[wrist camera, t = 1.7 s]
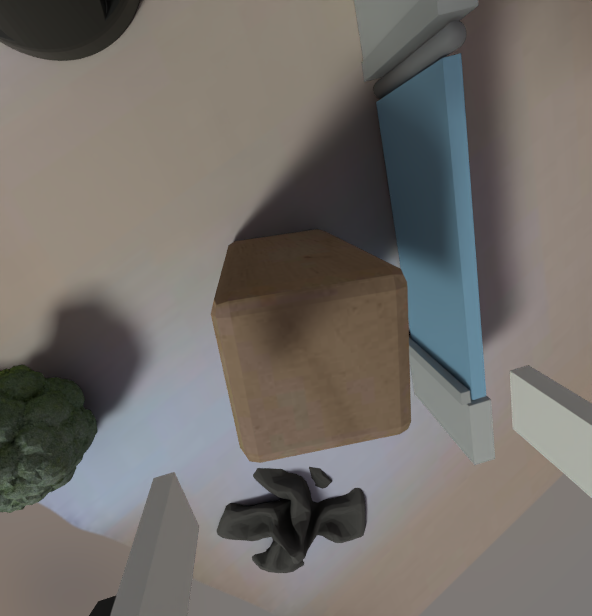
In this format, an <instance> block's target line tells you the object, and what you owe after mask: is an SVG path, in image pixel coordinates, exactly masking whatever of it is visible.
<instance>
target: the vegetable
mask: <svg viewBox="0 0 592 616" xmlns="http://www.w3.org/2000/svg"><path fill="white" fill-rule="evenodd" d="M84 400H85V398H84V395H83V392H82V391H81V389H80V388H79V386H78V385H77V384H76V383H75V382H74V381H70V380H68V379H60V378H57V377H55V378H48V379H46V378H45V377H44V376H43V374H42V373H40V372H35V371H34V370H33V371H32V370H31V369H30V368H28V367H27V366H25V365H19V366H13V367H12V368H11V369H5V370H2V371H0V512H9V513H11V512H13V511H15V510H21V509H23V508H24V507H25V506H26V505H33V504H34V503H37V502H39V501H40V500H42V499H43V498H44V497H45V496H46V495H47V494H48V493H49V492H52V491H54V490H56V489H58V488H60V487H62V486H63V485H65V484H66V483H68V482H69V481H70V480H71V478H72V477H73V474H74V472H75V470H76V466H77V465H78V464H79V463H80V462H81V460H82V458H83V455H84V453H85V452H86V451H87V450H88V448H89V447H90V445H91V444H92V442H93V440H94V437H95V435H96V433H97V424H96V419H95V417H94V415H92V412H91V411H90V410H86V409H85V408H84V407H83V404H84Z"/></svg>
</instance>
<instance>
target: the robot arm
mask: <svg viewBox="0 0 592 616" xmlns="http://www.w3.org/2000/svg"><path fill="white" fill-rule="evenodd" d="M139 1H140V0H0V42H2V43H3V44H5V45H7V46H9V47H11V48H13V49H15V50H17V51H19V52H22V53H24V54H27V55H30V56H33V57H37V58H42V59H47V60H58V61H67V60H76V59H81V58H85V57H88V56H91V55H93V54H96V53H98V52H100V51H102V50H103V49H105V48H106V47H108V46H109V45H111V44H112V43H113V42H114V41H115V40H116V39H117V38H118V37H119V36H120V35H121V34H122V33H123V32H124V30H125V29H126V28H127V26H128V25H129V23H130V22H131V20H132V18H133V16H134V14H135V12H136V9H137V7H138V4H139ZM510 383H511V403H512V423H513V429H514V430H515V431H516V432H517V433H518V434H520V435H521V436H522V437H523V438H524V439H525V440H526V441H527V442H529V443H530V444H531V445H532V446H533V447H534V448H535V449H537V450H538V451H539V452H540V453H541V454H542V455H543V456H545V457H546V458H547V459H548V460H549V461H550V462H551V463H553V464H554V465H555V466H556V467H557V468H558V469H559V470H561V471H562V472H563V473H564V474H565V475H566V476H567V477H569V478H570V479H571V480H572V481H573V482H574V483H575V484H577V485H578V486H579V487H580V488H581V489H582V490H583V491H585V492H586V493H587V494H588V495H589V496H590V497H591V498H592V403H590V402H588V401H587V400H585V399H583V398H582V397H580V396H578V395H577V394H575V393H573V392H572V391H570V390H569V389H567V388H565V387H564V386H562V385H560V384H559V383H557V382H555V381H554V380H552V379H550V378H549V377H547V376H545V375H544V374H542V373H540V372H539V371H537V370H535V369H534V368H532V367H530V366H529V365H528V366H524V367H521V368H518V369H514V370H511V371H510ZM198 532H199V525H198V522H197V520H196V518H195V516H194V514H193V512H192V509H191V507H190V505H189V503H188V501H187V499H186V496H185V494H184V492H183V490H182V488H181V485H180V483H179V481H178V479H177V477H176V475H175V472H173V473H170V474H166V475H163V476H160V477H156V478H154V479H153V482H152V485H151V488H150V491H149V495H148V498H147V501H146V504H145V507H144V510H143V514H142V517H141V520H140V523H139V526H138V529H137V532H136V536H135V539H134V542H133V545H132V548H131V552H130V555H129V558H128V561H127V564H126V567H125V570H124V574H123V577H122V580H121V583H120V586H119V589H118V593H117V596H113V597H110V598H107V599H104V600H101V601H98V603H97V604H96V606H95V607H94V609H93V610H92V612H91V613H90V615H89V616H187V614H188V606H189V599H190V591H191V584H192V576H193V569H194V562H195V554H196V547H197V539H198Z"/></svg>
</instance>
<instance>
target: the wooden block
mask: <svg viewBox="0 0 592 616" xmlns="http://www.w3.org/2000/svg"><path fill="white" fill-rule="evenodd" d="M211 316H212V321H213V326H214V330H215V335H216V339H217V344H218V348H219V353H220V358H221V362H222V367H223V371H224V376H225V380H226V385H227V390H228V394H229V399H230V403H231V408H232V412H233V417H234V422H235V426H236V431H237V435H238V440H239V444H240V448H241V449H242V451H243V452H244V454H245V455H246V457H247V458H248V460H249V461H252V462H260V463H261V462H266V461H271V460H276V459H280V458H285V457H290V456H295V455H300V454H305V453H310V452H315V451H320V450H324V449H329V448H334V447H339V446H344V445H349V444H354V443H359V442H364V441H369V440H373V439H378V438H383V437H388V436H393V435H398V434H401V433H402V432H404V431H405V430H407V429H408V428H409V425H410V423H411V404H410V365H409V326H408V286H407V281H406V279H405V276H404V274H403V272H402V270H401V269H400V268H398V267H396V266H394V265H392V264H390V263H388V262H386V261H384V260H382V259H380V258H378V257H376V256H374V255H372V254H370V253H368V252H366V251H364V250H362V249H360V248H358V247H356V246H354V245H352V244H350V243H348V242H346V241H344V240H342V239H340V238H338V237H336V236H334V235H332V234H330V233H328V232H326V231H322V230H319V229H315V230H309V231H302V232H295V233H288V234H281V235H275V236H268V237H261V238H254V239H247V240H241V241H235V242H233V243H232V244H230V245H229V246H228V250H227V254H226V257H225V261H224V265H223V268H222V272H221V276H220V279H219V283H218V287H217V291H216V294H215V298H214V302H213V307H212V312H211Z"/></svg>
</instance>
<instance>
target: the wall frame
mask: <svg viewBox="0 0 592 616" xmlns="http://www.w3.org/2000/svg"><path fill="white" fill-rule="evenodd" d="M354 3H355V9H356V16H357V22H358V29H359V35H360V42H361V48H362V55H363V62H362V69H363V76H364V82H365V81H369V80H373V79H377V78H381V77H384V76H385V75H386V74H387V73H389V72H390V71H391V70H392V69H394V68H395V67H396V66H397V65H398V64H400V63H401V62H402V61H403V60H405V59H406V58H407V57H408V56H410V55H411V54H412V53H413V52H414V51H416V50H417V49H418V48H419V47H421V46H422V45H423V44H424V43H426V42H427V41H428V40H429V39H430V38H432V37H433V36H434V35H435V34H437V33H438V32H439V31H440V30H442V29H443V28H444V27H445V26H446V25H448V24H449V23H450V22H452V21H459V20H461V19H462V18H463V17H465V16H466V15H467V14H468V13H470V12H471V11H472V10H473V9H475V8H476V7H477V6H478V0H354ZM409 360H410V367H411V373H412V380H413V386H414V393H415V395H416V396H417V397H418V399H419V400H420V401H421V402H422V403H423V405H424V406H425V407H426V408H427V409H428V411H429V412H430V413H431V414H432V415H433V416H434V418H435V419H436V420H437V421H438V422H439V424H440V425H441V426H442V427H443V428H444V430H445V431H446V432H447V433H448V434H449V435H450V437H451V438H452V439H453V440H454V441H455V443H456V444H457V445H458V446H459V447H460V449H461V450H462V451H463V452H464V453H465V454H466V456H467V457H468V458H469V459H470V460H471V462H472V463H473V464H474V465H477V464H480V463H483V462H486V461H489V460H492V459H495V450H494V436H493V421H492V407H491V399H490V398H489V397H487V396H485V397H481V398H478V399H475V400H472V399H471V398H470V391H469V390H468V389H467V388H466V387H465V386H464V385H463V384H462V383H460V382H459V381H458V380H457V379H456V378H455V377H454V376H452V375H451V374H450V373H449V372H448V371H447V370H446V369H445V368H443V367H442V366H441V365H440V364H439V363H438V362H437V361H436V360H434V359H433V358H432V357H431V356H430V355H429V354H428V353H426V352H425V351H424V350H423V349H422V348H421V347H420V346H419V345H417V344H416V343H415V342H414V341H413V340H412V339H411V338H410V337H409Z"/></svg>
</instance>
